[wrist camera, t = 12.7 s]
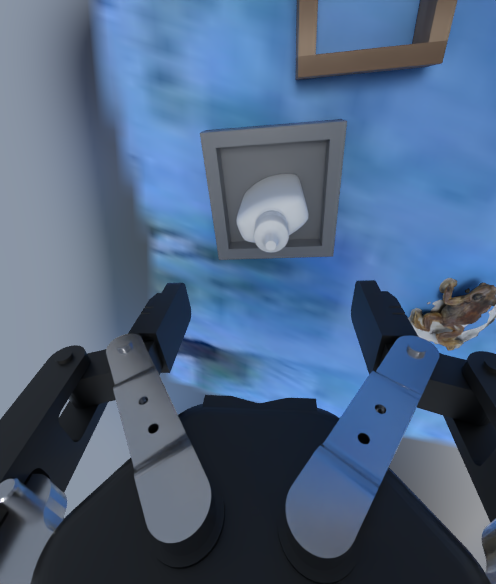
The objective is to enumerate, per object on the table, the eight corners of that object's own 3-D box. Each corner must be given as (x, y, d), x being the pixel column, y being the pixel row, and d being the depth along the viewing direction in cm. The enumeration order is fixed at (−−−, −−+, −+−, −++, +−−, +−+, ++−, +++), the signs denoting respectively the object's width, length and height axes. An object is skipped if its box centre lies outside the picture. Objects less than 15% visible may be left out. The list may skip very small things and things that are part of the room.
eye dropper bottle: (295, 219, 29) (305, 281, 19) (242, 211, 29) (224, 268, 19) (306, 175, 27) (323, 220, 17) (247, 165, 27) (230, 205, 17)
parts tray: (205, 130, 26) (199, 133, 24) (341, 119, 24) (347, 121, 22) (222, 249, 32) (219, 259, 30) (329, 246, 31) (332, 256, 29)
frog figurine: (427, 256, 31) (444, 274, 28) (527, 280, 32) (554, 300, 29) (379, 330, 38) (388, 351, 35) (462, 349, 38) (479, 371, 35)
